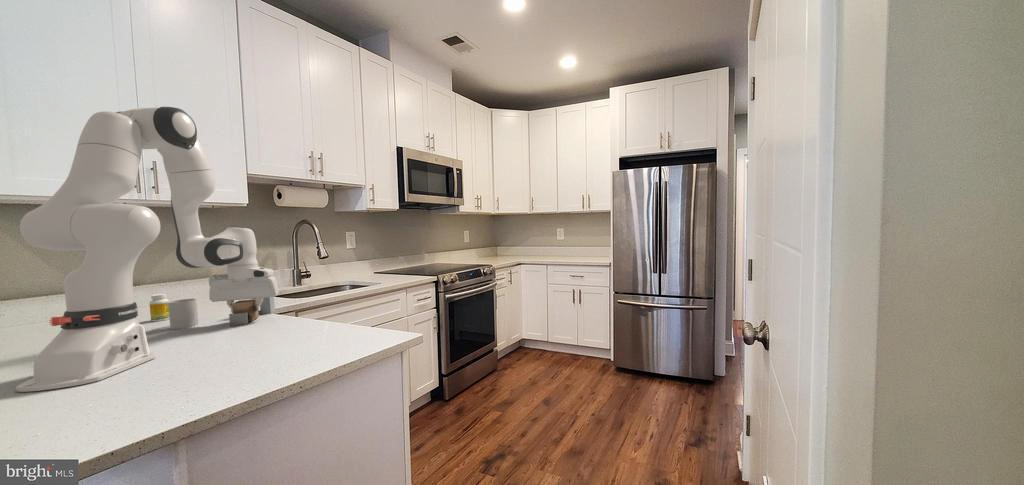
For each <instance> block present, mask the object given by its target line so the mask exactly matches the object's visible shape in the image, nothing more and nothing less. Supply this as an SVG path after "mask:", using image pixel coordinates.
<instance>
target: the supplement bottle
mask: <svg viewBox="0 0 1024 485" xmlns="http://www.w3.org/2000/svg"><path fill="white" fill-rule="evenodd" d="M150 296H151V298H150V299H151V301H149V312H150V314H149V315H150V321H151V322H155V323H157V322H163V321H167V320H170V318H169V306H168V302H170V300H169V299H168V298H167V293H156V294H152V295H150Z"/></svg>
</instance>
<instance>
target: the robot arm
mask: <svg viewBox="0 0 1024 485" xmlns="http://www.w3.org/2000/svg"><path fill="white" fill-rule="evenodd" d="M197 129H198V128H197V126H196V122H195V121H194V119H193V118H192V117H191V115H189V114H188V113H187V112H186V111H184V110H183V109H181V108H178V107H174V106H173V107H172V106H159V107H138V108H133V109H128V110H125V111H116V112H115V111H99V112H96V113H93V114H92V115H91V116H90V117H89V118H88V120H87V121H86V123H85V125H84V127H83V129H82V130H81V133H80V135H79V139H78V142H77V145H76V149H75V154H74V157H73V160H72V164H71V167H70V171H69V173H68V175H67V177H66V179H65V181H64V182H63V183H62V185H61V186H60V187H59V188H58V190H57V191H55V193H54V194H53V195H52V196H51V197H50V198H49V199H48V200H47V201H45V202H44V203H43V204H41V205H39V207H37V208H34V209H32V210H30V211H29V212H27V213H25V214H24V216H22V218H21V220H20V223H19V232H20V234H21V237H22V238H23V239H24V241H25V242H26V243H28V244H29V245H30V246H32V247H35V248H37V249H44V250H49V251H58V252H73V251H74V252H77V251H79V252H80V251H86V253H85V256H84V259H83V261H82V263H81V265H79V267H77V268H76V269H73V270H72V271H70V272H68V274H67V275H66V276H65V278H64V280H63V288H64V298H65V299H64V300H65V306H66V310H65V311H64V313H63V316H52V317H50V319H49V325H50V326H51V327H57V326H60V329H61V330H60V331H59V333H57V335H56V336H55V337H54V338H53V339H52V340H51V341H50V342H49V343H48V344H47V345H46V346H45V348H43V349H42V350H41V351H40V352H39V354H37V356H36V357H35V359H34V361H33V377H32V378H30V379H28V380H25V381H24V382H22V383H20V384H17V386H15V392H20V393H23V392H24V393H25V392H40V391H47V390H55V389H56V390H57V389H62V388H69V387H70V388H71V387H75V386H79V385H86V384H90V383H94V382H98V381H102V380H104V379H106V378H109V377H112V376H114V375H117V374H119V373H122V372H123V371H126V370H129V369H131V368H134V367H136V366H139V365H142V364H144V363H146V362H149V361H151V360H153V359H156V354H155V353H153V352H150V348H149V344H148V339H147V334H146V329H145V327H144V326H143V325H142V324H141V323H140V322H139V321H138V319H137V317H138V316H139V311H138V310H139V308H138V305H137V302H135V299H134V297H135V296H134V285H133V284H134V276H133V275H134V269H135V266H136V263H137V260H138V259H139V257H140V255H141V254H142V252H143V251H144V250H145V248H147V247H148V246H149V245H150V244H152V243H153V242H155V240H156V239H158V236H159V234H160V233H161V221H160V218H159V217H158V215H157V214H156V213H155V212H154V211H153V210H152V209H151V208H149V207H147V206H143V205H137V204H130V203H124V202H123V203H121V202H119V203H118V202H117V203H116V201H118V200H119V199H120V198H121V197H124V195H126V194H129V193H130V192H131V191H133V189H134V188H135V187H136V184H137V178H138V174H139V173H138V172H139V169H140V163H141V156H142V150H156V151H157V152H158V153H159V154H160V155H161V157H162V161H163V166H164V171H165V174H166V177H167V180H168V184H169V190H170V205H171V212H172V217H173V220H174V221H173V222H174V228H175V232H176V237H177V244H176V248H175V249H176V250H175V254H176V259H177V260H178V262H179V263H180V264H181V265H183V266H184V267H187V268H191V269H198V268H210V267H211V268H212V267H222V266H226V270H227V273H222V274H221V273H220V274H213V275H212V276H210V277H209V278H208V285H209V290H208V291H209V292H208V298H209V301H210V302H212V303H217V302H226V305H227V306H228V307H229V308H230V314H233V303H235V301H239V300H249V299H255V298H257V301H259V302H258V304H257V305H256V306H254V311H260V305H261V303H262V302H263V298H267V297H274V298H275V297H276V296H277V295H278V294H279V285H278V281H277V278H276V277H275V276H274V274H275V271H274V269H272V268H267V267H263V266H259V262H258V260H257V252H258V250H257V248H258V247H257V241H256V236H255V233H254V231H253V230H252V229H251V228H249V227H244V226H228V227H227V228H226V229H224V230H223V231H222V232H220V233H218V234H215V235H212V236H211V237H205V236H204V235H203V233H202V228H201V223H200V218H199V208H200V207H201V206H202V203H204V201H206V200H207V199H208V198H210V197H211V195H212V194H213V193H214V192H215V189H216V182H215V177H214V172H213V170H212V166H211V163H210V160H209V159H208V158H209V157H208V156H207V153H206V151H205V149H204V148H203V146H202V144H201V143H200V141H199V140H198V139H197V138H198V131H197Z"/></svg>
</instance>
